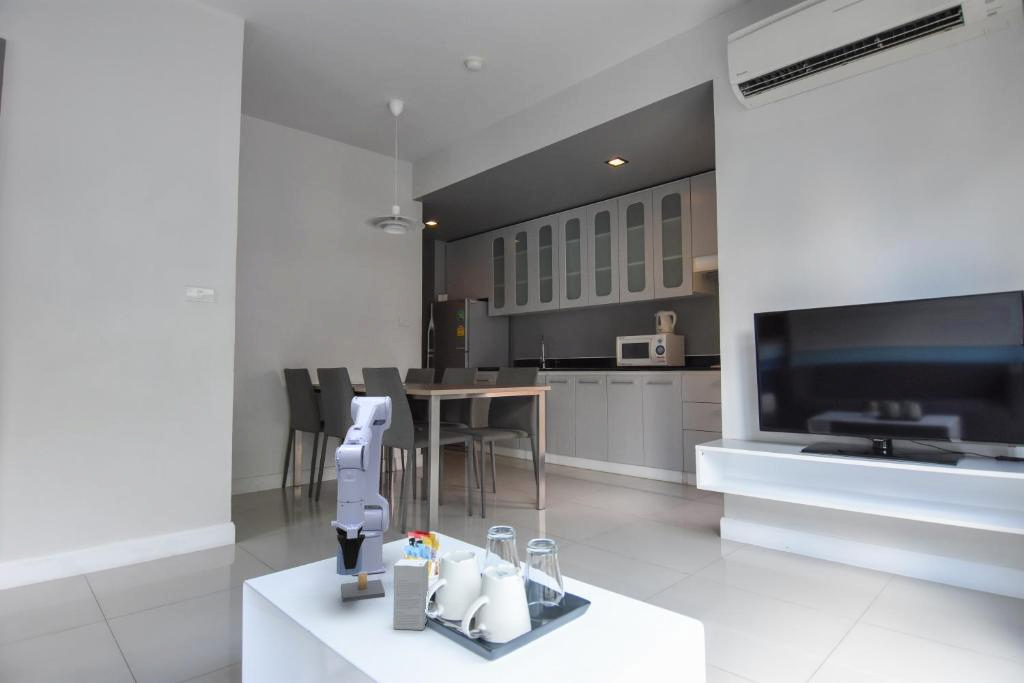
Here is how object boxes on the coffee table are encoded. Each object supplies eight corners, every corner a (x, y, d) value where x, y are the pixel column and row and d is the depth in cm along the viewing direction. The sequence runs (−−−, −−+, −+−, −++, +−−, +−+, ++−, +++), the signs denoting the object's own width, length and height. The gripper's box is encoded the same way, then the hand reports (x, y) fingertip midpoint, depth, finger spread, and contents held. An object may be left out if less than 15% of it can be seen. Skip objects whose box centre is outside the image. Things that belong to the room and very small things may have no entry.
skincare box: (428, 621, 108) (429, 559, 109) (423, 630, 104) (424, 566, 105) (398, 620, 109) (400, 558, 110) (392, 629, 104) (393, 565, 105)
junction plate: (340, 587, 126) (341, 570, 127) (380, 582, 130) (380, 566, 130) (342, 601, 118) (343, 583, 118) (384, 596, 121) (385, 578, 121)
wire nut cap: (336, 568, 119) (336, 545, 119) (360, 566, 121) (361, 542, 121) (336, 576, 114) (337, 551, 114) (362, 573, 116) (363, 549, 116)
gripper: (331, 495, 124) (329, 556, 123) (332, 508, 110) (330, 577, 109) (362, 493, 126) (361, 553, 125) (368, 505, 113) (366, 573, 112)
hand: (349, 564), depth 117 cm, fingers closed on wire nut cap, 5 cm apart
